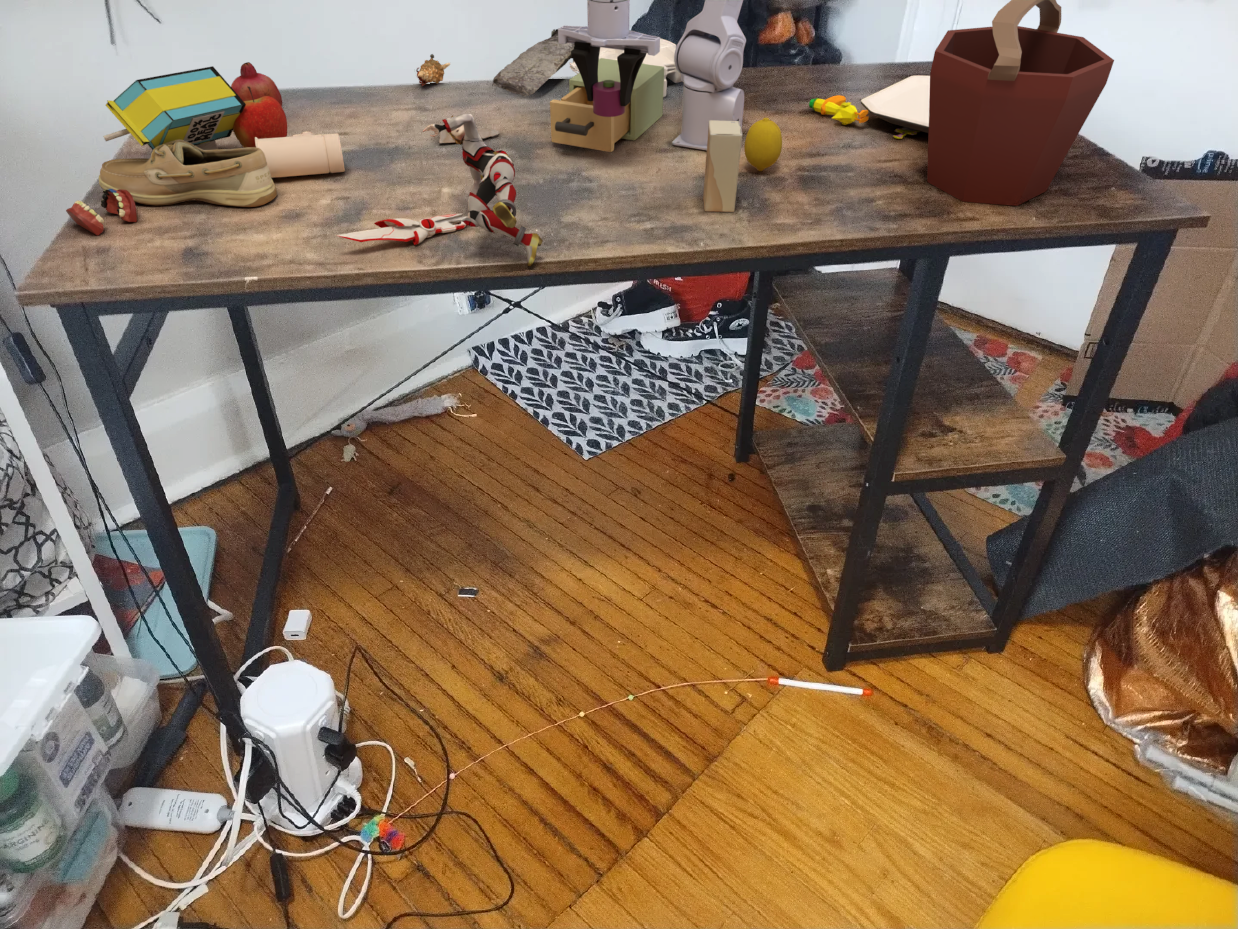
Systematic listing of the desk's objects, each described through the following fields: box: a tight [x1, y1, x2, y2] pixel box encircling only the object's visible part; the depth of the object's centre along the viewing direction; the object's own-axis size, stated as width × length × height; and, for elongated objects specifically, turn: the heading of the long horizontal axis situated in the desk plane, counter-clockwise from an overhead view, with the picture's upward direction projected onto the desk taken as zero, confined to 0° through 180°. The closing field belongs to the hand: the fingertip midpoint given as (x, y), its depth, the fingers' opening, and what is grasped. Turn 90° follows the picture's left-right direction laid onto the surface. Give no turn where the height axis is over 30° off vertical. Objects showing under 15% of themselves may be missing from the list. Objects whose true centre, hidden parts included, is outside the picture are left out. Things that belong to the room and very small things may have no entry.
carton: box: [102, 66, 246, 151], centre depth 126 cm, size 7×8×18 cm
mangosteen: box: [593, 80, 625, 117], centre depth 127 cm, size 5×5×4 cm
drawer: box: [549, 86, 631, 153], centre depth 140 cm, size 15×10×6 cm
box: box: [702, 120, 743, 213], centre depth 122 cm, size 5×4×11 cm
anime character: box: [334, 113, 543, 267], centre depth 112 cm, size 23×16×25 cm
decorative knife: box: [892, 126, 922, 140], centre depth 148 cm, size 12×1×5 cm
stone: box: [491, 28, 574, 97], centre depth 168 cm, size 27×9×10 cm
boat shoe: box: [98, 140, 278, 208], centre depth 124 cm, size 25×9×8 cm, turn 83°
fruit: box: [230, 61, 283, 108], centre depth 144 cm, size 8×8×10 cm
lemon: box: [743, 117, 783, 172], centre depth 132 cm, size 6×6×8 cm
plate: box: [860, 74, 930, 134], centre depth 151 cm, size 29×29×2 cm
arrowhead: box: [438, 127, 500, 144], centre depth 144 cm, size 5×1×10 cm
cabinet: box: [568, 58, 664, 141], centre depth 148 cm, size 13×12×8 cm
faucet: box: [255, 130, 346, 179], centre depth 133 cm, size 6×12×12 cm
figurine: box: [414, 53, 451, 88], centre depth 164 cm, size 14×5×4 cm, turn 148°
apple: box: [232, 86, 288, 148], centre depth 135 cm, size 8×8×10 cm
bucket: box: [926, 0, 1115, 207], centre depth 124 cm, size 24×22×25 cm
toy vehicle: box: [569, 38, 682, 98], centre depth 166 cm, size 23×25×6 cm
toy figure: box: [808, 94, 870, 126], centre depth 151 cm, size 7×4×12 cm
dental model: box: [65, 189, 138, 237], centre depth 119 cm, size 6×4×8 cm
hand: (608, 101), depth 128 cm, fingers closed on mangosteen, 4 cm apart
